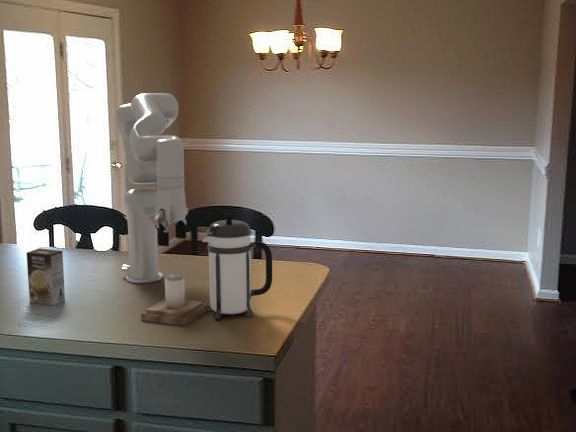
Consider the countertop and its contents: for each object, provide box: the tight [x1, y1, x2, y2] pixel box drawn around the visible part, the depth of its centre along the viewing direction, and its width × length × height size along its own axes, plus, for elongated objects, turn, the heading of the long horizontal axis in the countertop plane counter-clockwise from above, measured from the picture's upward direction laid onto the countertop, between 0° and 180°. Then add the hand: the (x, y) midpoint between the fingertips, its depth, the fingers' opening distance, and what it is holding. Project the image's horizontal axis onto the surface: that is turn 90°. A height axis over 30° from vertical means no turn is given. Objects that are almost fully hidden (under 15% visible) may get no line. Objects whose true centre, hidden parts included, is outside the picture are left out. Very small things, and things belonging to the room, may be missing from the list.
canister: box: [164, 273, 186, 308], centre depth 201 cm, size 6×6×9 cm
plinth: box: [140, 298, 209, 327], centre depth 202 cm, size 14×14×3 cm
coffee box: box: [26, 247, 66, 306], centre depth 214 cm, size 9×6×16 cm
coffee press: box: [202, 212, 273, 321], centre depth 202 cm, size 17×16×30 cm
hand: (172, 241), depth 198 cm, fingers open, 9 cm apart
